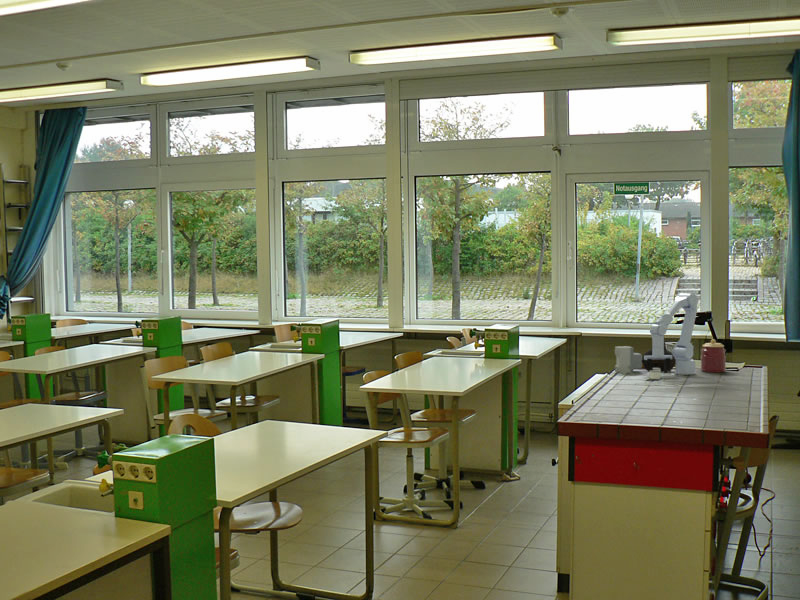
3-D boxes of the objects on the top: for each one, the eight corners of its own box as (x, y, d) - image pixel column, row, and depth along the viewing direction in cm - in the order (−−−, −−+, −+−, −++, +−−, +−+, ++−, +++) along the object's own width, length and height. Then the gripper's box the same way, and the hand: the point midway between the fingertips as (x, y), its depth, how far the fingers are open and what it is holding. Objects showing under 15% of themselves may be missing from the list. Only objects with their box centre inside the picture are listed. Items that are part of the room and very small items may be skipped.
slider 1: (657, 375, 425) (657, 367, 425) (660, 376, 421) (660, 368, 421) (650, 375, 425) (650, 367, 425) (653, 376, 421) (653, 368, 421)
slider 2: (657, 377, 416) (657, 370, 416) (660, 379, 412) (660, 371, 412) (649, 378, 415) (649, 370, 415) (652, 379, 411) (652, 371, 411)
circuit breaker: (644, 375, 437) (644, 347, 437) (618, 375, 438) (618, 347, 437) (641, 373, 445) (640, 346, 444) (614, 373, 445) (614, 346, 445)
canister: (701, 372, 445) (701, 340, 444) (699, 369, 457) (699, 338, 457) (726, 373, 441) (726, 340, 440) (724, 369, 454) (724, 338, 453)
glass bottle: (635, 371, 453) (634, 321, 452) (659, 369, 461) (659, 319, 460) (657, 375, 437) (657, 323, 436) (682, 372, 445) (682, 321, 444)
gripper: (647, 348, 418) (647, 374, 418) (674, 347, 419) (674, 373, 420) (642, 347, 425) (642, 372, 425) (669, 346, 426) (669, 372, 427)
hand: (658, 373), depth 423 cm, fingers open, 7 cm apart
